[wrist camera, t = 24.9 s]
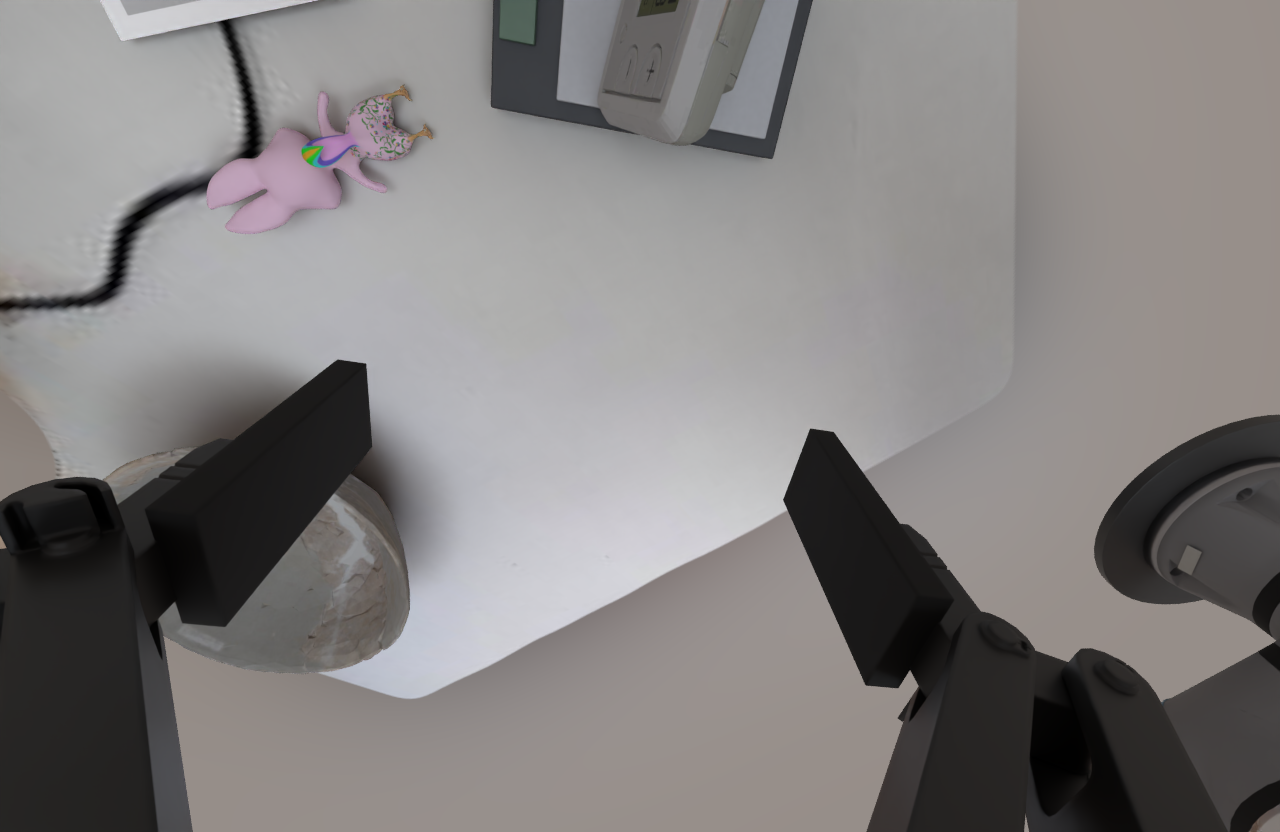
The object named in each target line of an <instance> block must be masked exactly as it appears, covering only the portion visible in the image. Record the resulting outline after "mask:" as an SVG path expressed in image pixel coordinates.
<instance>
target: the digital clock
mask: <svg viewBox="0 0 1280 832" xmlns="http://www.w3.org/2000/svg"><path fill="white" fill-rule="evenodd" d="M764 2H765V0H621V4H620V8H619V12H618V15H617V19H616V23H615V27H614V31H613V35H612V39H611V43H610V47H609V51H608V55H607V59H606V63H605V67H604V71H603V75H602V79H601V83H600V87H599V92H598V99H597V102H598V105H599V108H600V110H601V112H602V114H603V115H604V117H605V119H606V121H607V122H608V123H609V124H610V125H613V126H616V127H619V128H622V129H625V130H628V131H631V132H634V133H637V134H640V135H642V136H645V137H648V138H651V139H654V140H657V141H660V142H663V143H668V144H672V145H678V146H681V145H689V144H691V143H694V142H696V141H698V140H699V139H701V138H702V137H703V136H704V135H705V134H706V133H707V131H708V130H709V128H710V126H711V123H712V121H713V119H714V116H715V113H716V110H717V107H718V105H719V102H720V99H721V96H722V94H724V93H727V92H729V91H731V90H733V88H734V86H735V83H736V80H737V78H738V75H739V72H740V69H741V66H742V64H743V61H744V58H745V55H746V52H747V49H748V47H749V44H750V41H751V38H752V35H753V33H754V30H755V27H756V24H757V21H758V19H759V16H760V13H761V10H762V7H763V5H764Z"/></svg>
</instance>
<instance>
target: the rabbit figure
mask: <svg viewBox="0 0 1280 832" xmlns="http://www.w3.org/2000/svg"><path fill="white" fill-rule="evenodd" d="M404 85H405V84H404ZM404 85H402V86H401V87H400V89H399V90H397V91H395V92H394V93H391V94H385V95H379V96H373V97H370V98H368V99H366V100H364V101H362V102H360V103H358V104H357V105H356V106H355V107H354V108H353V109H352V111H351V112H350V114H349V116H348V118H347V122H346V130H345V133H341V132H338V131H336V130H335V129H334V128H333V127H332V125H331V123H330V121H329V118H328V114H327V107H328V103H329V96H328V94H327V93H325V92H320V93H319V95H318V107H317V114H318V122H319V127H320V132H321V136H322V137H321V138H317V139H315V140H312V141H310V140H309V139H308V138H307V137H306V136H304V135H303V134H301V133H299V132H297V131H295V130H292V129H289V128H280V129H279V130H278V131H277V132H276V133H275V135H274V137H273V139H272V140H271V142H270V144H269V145H268V147H267V148H266V149H265V150H264V151H263V152H262V153H261V154H260V155H259V156H258V157H257V158H255V159H237V160H234V161H232V162H230V163H228V164H226V165H225V166H224V167H222V168H221V169H220V170H219V171H218V172H217V173H216V174H215V175H214V176H213V177H212V178H211V180H210V182H209V185H208V189H207V205H208V207H209V208H210V209H215V208H218V207H222V206H226V205H230V204H233V203H235V202H238V201H240V200H242V199H244V198H247V197H249V196H251V195H253V194H255V193H257V192H258V191H260V190H263V189H267V193H266V194H264V195H262V196H260V197H258V198H256V199H255V200H253V201H251V202H250V203H248V204H247V205H245V206H243V207H242V208H240V209H239V210H238V211H237V212H236V213H235V214H234V215H233V216H232V218H231V219H230V220H229V221H228V223H227V224H226V225H225V228H226V229H227V230H229V231H231V232H235V233H241V234H255V233H261V232H264V231H268V230H271V229H275V228H277V227H280V226H282V225H283V224H285V223H286V222H287V221H288V220H289V219H290V218H291V217H292V215H293V214H294V213H295V212H296V211H298V210H301V209H336V208H337V207H338V206H339V204H340V201H341V196H342V191H341V186H340V184H339V182H338V180H337V178H336V177H335V175H334V172H333V169H334V168H338V169H341V170H342V171H344V172H345V173H346V174H347V175H349V176H350V177H351V178H353V179H354V180H356V181H357V182H359V183H360V184H362V185H364V186H365V187H368V188H370V189H373V190H375V191H378V192H381V193H385V192H386V191H387V188H386V186H385V185H384V184H382V183H378V182H374V181H371V180H370V179H368V178H367V177H366V176H365V175H364V174H363V173H362V172H361V170H360V168H359V165H360V162H361V161H362V159H363V158H365V157H367V158H370V159H374V160H396V159H399V158H401V157H403V156H405V155H407V154H408V153H409V152H410V150H411V146H412V143H413V141H414V139H415V138H417V137H420V136H428V138H430V139H433V138H434V137H432V135H431V134H432V133H430V131H429V130H428V128H427V127H425V125H426V123H425V124H424V128H423V130H422V131H421V132H419V133H417V134H408V133H406V132H405V131H404V130H402V129H400V128H397V127H395V126H394V125H393V120H394V111H393V108H392V106H391V101H392V99H393V98H394V97H395V96H398V95H402V96H405V97H406V98H407V99H408V100H409V101H413V100H411V99H409V95H408V92H407V90H406V89H405V87H404Z"/></svg>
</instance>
